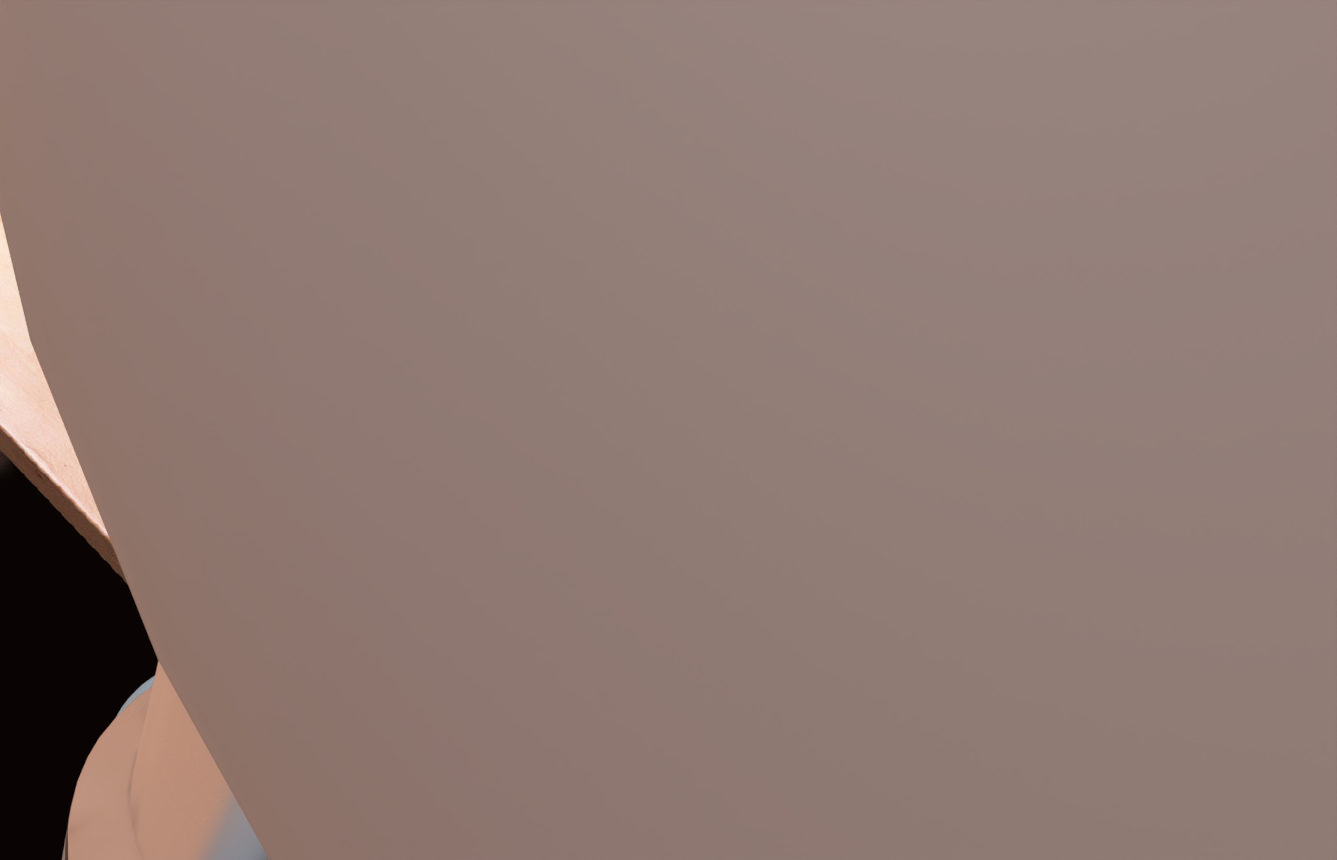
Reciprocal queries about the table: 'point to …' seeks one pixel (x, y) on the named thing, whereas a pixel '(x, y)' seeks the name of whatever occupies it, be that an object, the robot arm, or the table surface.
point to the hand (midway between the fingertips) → (464, 631)
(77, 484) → the table surface
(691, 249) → the robot arm
